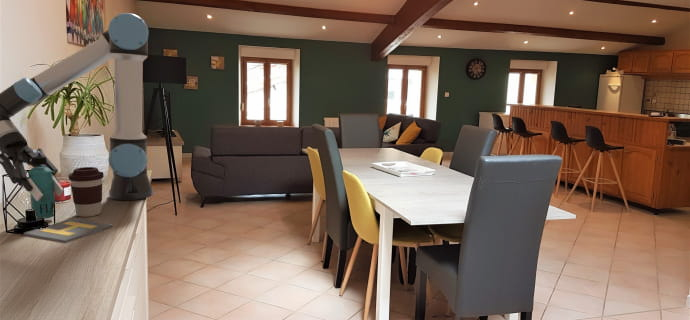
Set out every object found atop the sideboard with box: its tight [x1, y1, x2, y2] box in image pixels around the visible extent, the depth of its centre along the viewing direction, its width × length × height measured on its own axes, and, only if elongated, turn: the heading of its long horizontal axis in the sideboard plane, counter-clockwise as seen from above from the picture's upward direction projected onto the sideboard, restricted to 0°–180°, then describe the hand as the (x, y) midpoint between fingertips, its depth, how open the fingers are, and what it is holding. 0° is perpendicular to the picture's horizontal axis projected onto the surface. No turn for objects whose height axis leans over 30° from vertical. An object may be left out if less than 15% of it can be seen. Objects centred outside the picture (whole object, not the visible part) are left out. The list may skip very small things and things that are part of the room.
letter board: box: [23, 218, 113, 243], centre depth 145 cm, size 16×16×1 cm
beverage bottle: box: [27, 156, 57, 219], centre depth 152 cm, size 6×7×20 cm
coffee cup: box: [68, 166, 105, 218], centre depth 161 cm, size 10×10×15 cm
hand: (50, 195), depth 152 cm, fingers closed on beverage bottle, 6 cm apart
